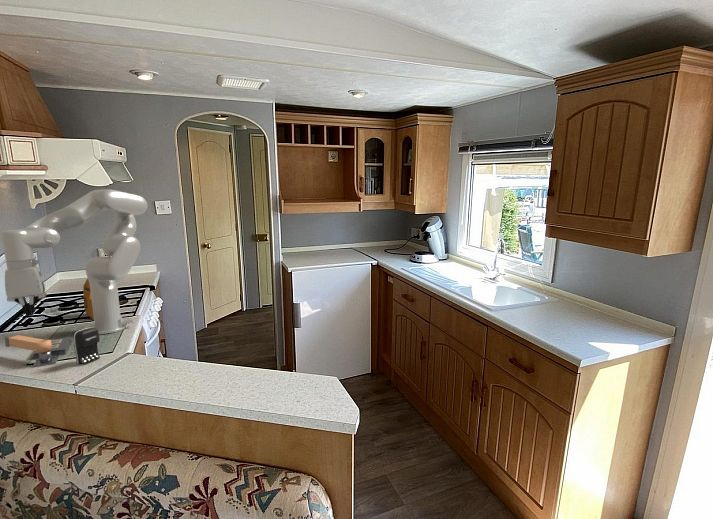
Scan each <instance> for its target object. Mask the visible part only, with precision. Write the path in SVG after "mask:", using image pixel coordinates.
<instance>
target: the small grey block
mask: <svg viewBox="0 0 713 519" xmlns="http://www.w3.org/2000/svg"><path fill="white" fill-rule="evenodd" d="M39 358H40V359H35V362H34V363H33V365H32V368H38V367H42V366H43V367H45V366H49V365H55V364H57V362H58V360H59V358H60V355H58V356H52V355H51V350H50V351H47V352H41V353H39Z"/></svg>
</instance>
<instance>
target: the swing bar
mask: <svg viewBox="0 0 713 519" xmlns="http://www.w3.org/2000/svg"><path fill="white" fill-rule="evenodd" d="M51 340H52V339H42V338H37V337H31V336H26V335H20V334H18V333H14V334H11V335H7V336H4V343H5V347H7V348H10V347H13V348H17V349H18V348H19V349H22V350H23V349H24V350H28V351H33V352H35V351H37V352H38V353H41V352H47V351H50V350H52V344H51Z"/></svg>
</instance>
